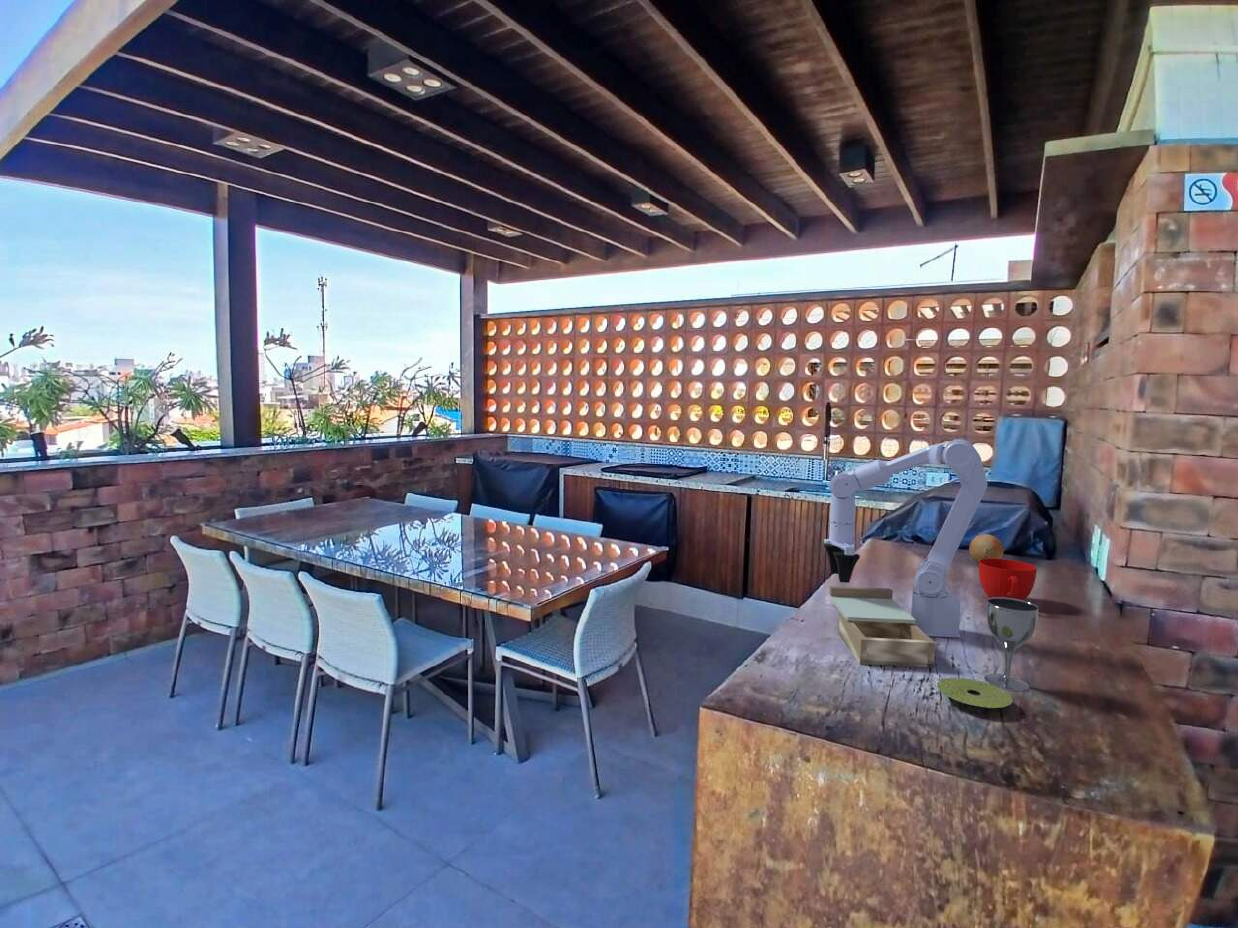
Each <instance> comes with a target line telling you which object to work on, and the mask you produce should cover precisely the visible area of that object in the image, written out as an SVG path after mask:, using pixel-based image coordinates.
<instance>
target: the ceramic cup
mask: <svg viewBox="0 0 1238 928" xmlns="http://www.w3.org/2000/svg"><path fill="white" fill-rule="evenodd" d="M1037 571H1038V569H1037V567H1036V566H1035V565H1033V564H1031V563H1027V562H1022V561H1020V560H1013V559H1007V558H1005V559H1004V558H1001V559H982V560H980V561H979V563H978V578H979V582H980V585H981V588H982V590H983V592H984V593H985V594H986V596H987V597H988V599H989V598H992V597H1006V598H1014V599H1019V600H1023V601H1025V600H1026V599H1027V598H1028V596H1029V595H1030V594H1031V592H1032V591H1033V589H1034V585H1035V582H1036V579H1037Z"/></svg>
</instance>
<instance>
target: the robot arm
mask: <svg viewBox="0 0 1238 928" xmlns="http://www.w3.org/2000/svg"><path fill="white" fill-rule="evenodd" d="M942 461H943V462H944V463H945V465H946V466H947V467H948V468H949V469H950V470H951V471H953V472H954V473H955V476H956V478H957V480H958V482H959V484H960V488H959V491H958V493H957V495H956V497H955V499H954V501H953V503H952V505H951V508H950V510H949V512H948V514H947V516H946V519H945V521H944V523H943V525H942V527H941V529H940V530H939V533H938V536H937V537H936V540H935V542H934V543H933V546H932V548H931V549H930V552H929V553H928V555H927V557H926V558H925V559H924V560H923V561H921V563H919V565H918V566H917V568H916V574H915V575H914V585H915V586H913V588H912V597H911V609H910V610H911V612H910V615H911V616H912V617H913V618H914V619H915V620H916V624H915V625H916V626H917V627H918V628H919V629H920V630H922V631H923V632H924V633H925V634H926V635H927V636H928V637H936V638H937V637H939V638H940V637H943V638H961V634H960V622H961V621H960V620H961V604H960V599H959V597H958V596H957V595H956V594H955V593H949V591H948V590H947V589H946V588H947V577H948V572H949V569H950V567H951V564H952V562H953V559H954V557H955V555H956V552H957V551H958V548H959V547H960V545H961V543H962V541H963V538H964V536H965V535H966V533H967V530H968V528H969V527H970V524H971V522H972V519H973V517H974V516H975V514H976V511H977V509H978V508H979V506H980V503H981V502H982V498H984V495H985V493H986V491H987V489H988V480H987V476H986V474H985V469H984V465H983V462H982V457H981V456H980V453H979V452H978V450H977V449H976V448H975V446H974V445H973V444H972V442H970V441H968V440H967V439H962V438H956V439H952V440H951V441H948V443H947V441H946V442H940V443H936V444H931V445H928V446H924V447H922V448H919V449H917V450H915V451H912V452H910V453H907V454H904V455H902V456H898V457H897V458H894V459H892V460H889V461H887V462H886V461H884V460H881V459H876V460H874V459H873V458H871V459H868V460H866V463H865V464H862V465H859V466H856V467H854V468H853V467H848V468H847V469H846V470H847V471H843V472H840V473H838V474H836V475H834V476H833V477H832V478H831V479H830V481H829V490H830V492H831V496H830V499H831V500H830V503H829V504H830V506H829V507H830V509H829V510H830V512H829V529H828V530H829V533H828V538H824V539H823V542H824V543H825V544H823V547H824V549H825V552H826V554H827V558H828V562H829V563H828V564H829V569H830V573H831V574H832V575H838V580H839V582H840V583H845V584H847V583H850V581H851V578H852V575H853V571H854V569H855V567H856V564H857V562H858V561H859V560H860V557H861V555H860V554H858V553H855V550H856V546H855V545H856V541H855V533H856V528H855V527H856V508H857V504H856V492H857V491H858V492H864V491H867V490H870V489H872V488H876V487H878V486H881V485H884V484H887V483H888V482H889V481H890V479H891V477H892V476H893V475H895V474H898V473H902V472H904V471H908V470H910V469H913V468H914V469H915V468H917V467H919V466H923V465H926V464H929V465H936V466H942V463H943V462H942Z"/></svg>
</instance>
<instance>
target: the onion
mask: <svg viewBox="0 0 1238 928" xmlns="http://www.w3.org/2000/svg"><path fill="white" fill-rule="evenodd" d="M968 550H969V555H970V557H971V558H972V559H973V561H975V562H976V561H978V562H979V561H980V560H982V559H1003V556H1004V552H1005V551H1004V546H1003V543H1002V542H1001V540H1000V539H999V538H998V537H996V536H995V535H992V534H990V533H989V534H987V533H982V534H981V533H980V534H978V535H977V536H975V537H974V538H973V539H972V540H971V541H970V544H969V549H968ZM978 562H977V563H978Z"/></svg>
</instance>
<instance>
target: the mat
mask: <svg viewBox="0 0 1238 928" xmlns="http://www.w3.org/2000/svg"><path fill="white" fill-rule="evenodd" d="M936 685H937V688H938V689H939V690H938V691H940V692H941V693H942V694H944V695H945V696H947V697H948V698H951V699H953V700H955V701H957V702H959V703H962V704H966V705H970V706H974V707H975V706H976V707H981V708H988V709H996V708H997V709H998V708H999V709H1000V708H1005V707H1007V706H1010V705H1011V704H1012V703H1013V698H1012V696H1011V695H1010V694H1009V693H1008V692H1007V691H1005V690H1004V689H1002V688H999V687H996V686H994V685H991V684H990V683H988V682H985V681H984V682H983V681H980V680H976V679H972V678H965V677H947V678H942V679H941V680H939V681H937V683H936Z"/></svg>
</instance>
